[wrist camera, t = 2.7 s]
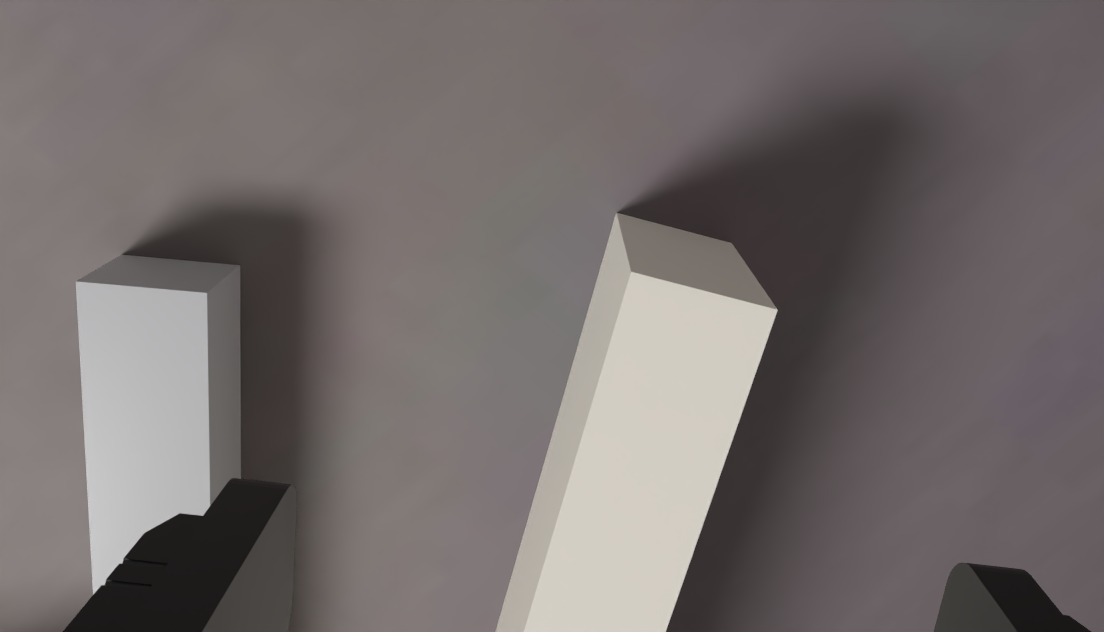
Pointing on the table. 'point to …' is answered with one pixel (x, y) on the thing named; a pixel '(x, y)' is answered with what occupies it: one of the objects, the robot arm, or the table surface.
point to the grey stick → (156, 395)
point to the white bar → (639, 433)
